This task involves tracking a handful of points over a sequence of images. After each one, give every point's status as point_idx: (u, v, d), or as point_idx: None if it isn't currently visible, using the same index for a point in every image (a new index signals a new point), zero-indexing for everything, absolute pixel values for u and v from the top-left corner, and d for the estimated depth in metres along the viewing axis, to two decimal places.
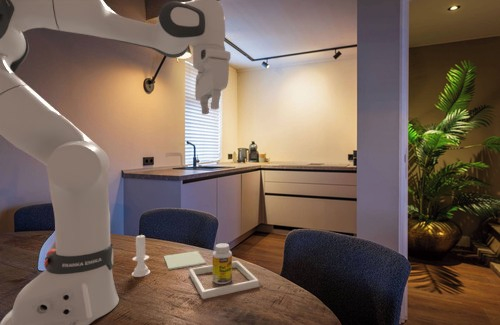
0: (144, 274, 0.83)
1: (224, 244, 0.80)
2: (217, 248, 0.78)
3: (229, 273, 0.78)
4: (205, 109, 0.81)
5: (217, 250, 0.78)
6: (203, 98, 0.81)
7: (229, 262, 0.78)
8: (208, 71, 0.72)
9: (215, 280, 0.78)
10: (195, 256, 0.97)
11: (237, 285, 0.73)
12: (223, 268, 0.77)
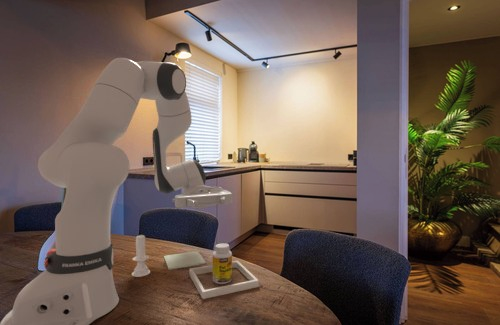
0: (144, 274, 0.83)
1: (224, 244, 0.80)
2: (217, 248, 0.78)
3: (229, 273, 0.78)
4: None
5: (217, 250, 0.78)
6: None
7: (229, 262, 0.78)
8: (214, 193, 1.02)
9: (215, 280, 0.78)
10: (195, 256, 0.97)
11: (237, 285, 0.73)
12: (223, 268, 0.77)
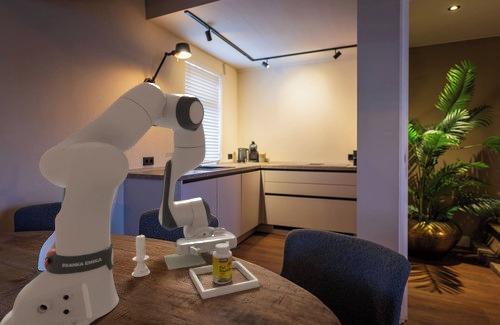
0: (144, 274, 0.83)
1: (224, 244, 0.80)
2: (217, 248, 0.78)
3: (229, 273, 0.78)
4: None
5: (217, 250, 0.78)
6: None
7: (229, 262, 0.78)
8: (217, 236, 0.98)
9: (215, 280, 0.78)
10: (195, 256, 0.97)
11: (237, 285, 0.73)
12: (223, 268, 0.77)
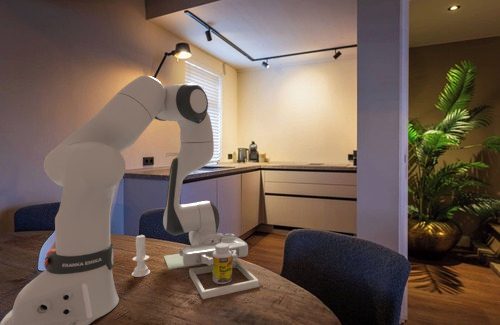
0: (144, 274, 0.83)
1: (224, 244, 0.80)
2: (217, 248, 0.78)
3: (229, 273, 0.78)
4: None
5: (217, 250, 0.78)
6: None
7: (229, 262, 0.78)
8: (226, 243, 0.89)
9: (215, 280, 0.78)
10: None
11: (237, 285, 0.73)
12: (223, 268, 0.77)
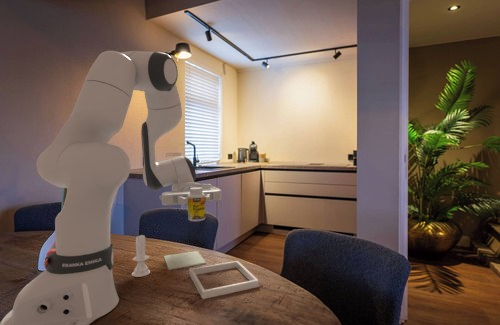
0: (144, 274, 0.83)
1: (198, 187, 0.90)
2: (191, 190, 0.87)
3: (202, 212, 0.88)
4: None
5: (191, 191, 0.87)
6: (178, 198, 0.90)
7: (202, 202, 0.88)
8: (202, 190, 0.99)
9: (190, 218, 0.87)
10: (195, 256, 0.97)
11: (237, 285, 0.73)
12: (196, 207, 0.87)
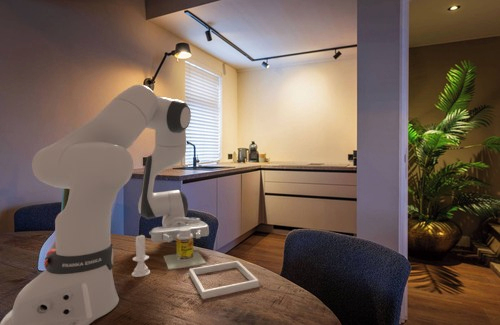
0: (144, 274, 0.83)
1: (187, 228, 0.96)
2: (180, 231, 0.93)
3: (190, 252, 0.94)
4: (171, 238, 0.93)
5: (180, 233, 0.93)
6: (166, 235, 0.96)
7: (190, 243, 0.93)
8: (191, 225, 1.05)
9: (178, 258, 0.93)
10: (195, 256, 0.97)
11: (237, 285, 0.73)
12: (184, 248, 0.92)
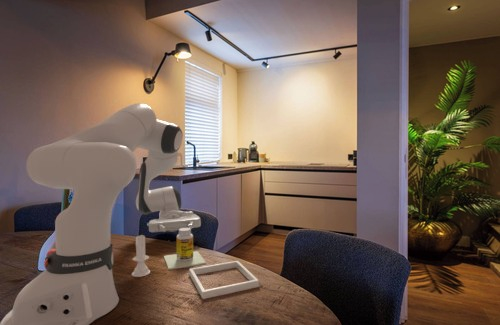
0: (144, 274, 0.83)
1: (187, 228, 0.96)
2: (180, 231, 0.93)
3: (190, 252, 0.94)
4: (166, 228, 1.05)
5: (180, 233, 0.93)
6: (162, 226, 1.08)
7: (190, 243, 0.93)
8: (184, 217, 1.16)
9: (178, 258, 0.93)
10: (195, 256, 0.97)
11: (237, 285, 0.73)
12: (184, 248, 0.92)
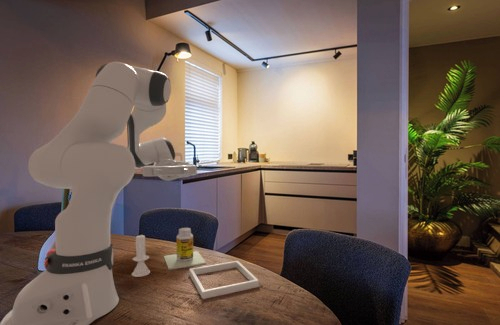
0: (144, 274, 0.83)
1: (187, 228, 0.96)
2: (180, 231, 0.93)
3: (190, 252, 0.94)
4: None
5: (180, 233, 0.93)
6: None
7: (190, 243, 0.93)
8: (180, 166, 1.12)
9: (178, 258, 0.93)
10: (195, 256, 0.97)
11: (237, 285, 0.73)
12: (184, 248, 0.92)
